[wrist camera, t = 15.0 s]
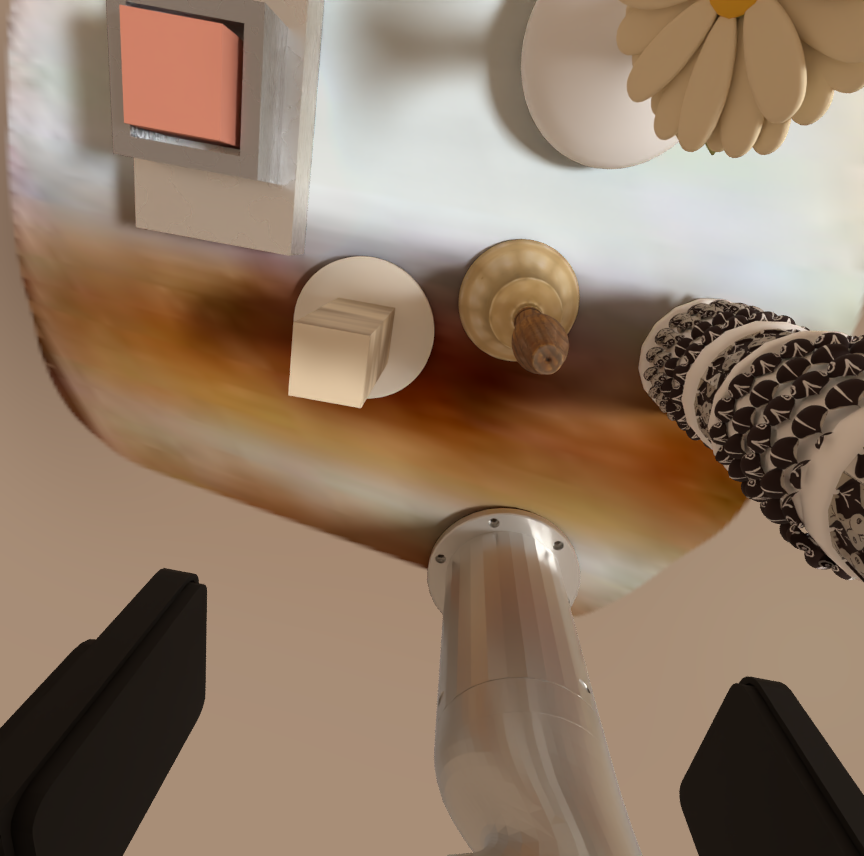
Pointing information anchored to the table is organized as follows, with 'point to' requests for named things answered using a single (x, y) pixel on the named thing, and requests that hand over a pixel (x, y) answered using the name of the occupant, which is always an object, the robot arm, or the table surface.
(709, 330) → the decorative candle
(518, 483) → the table surface
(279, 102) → the base
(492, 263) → the hand bell
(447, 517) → the table surface
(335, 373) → the pale wood brick
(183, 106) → the button
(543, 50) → the flower in vase
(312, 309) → the coaster
